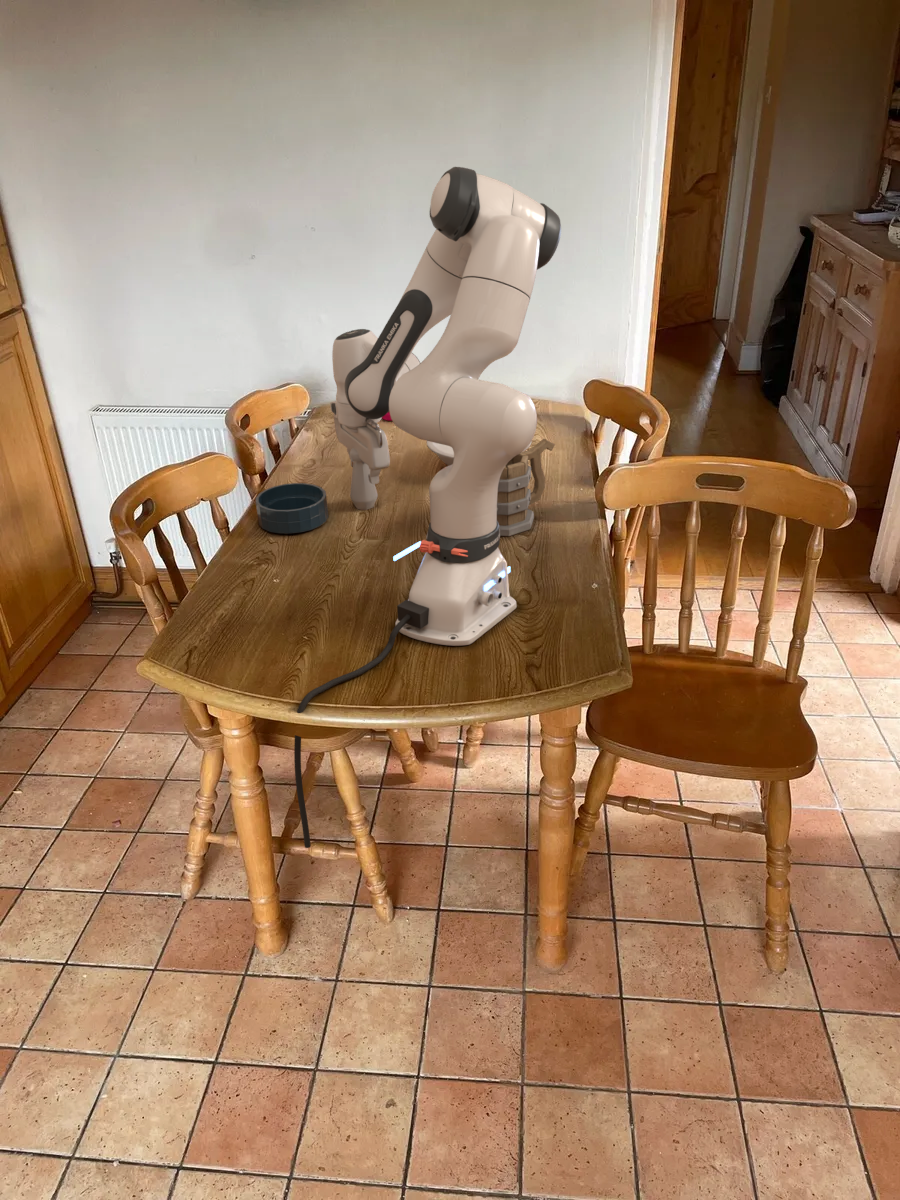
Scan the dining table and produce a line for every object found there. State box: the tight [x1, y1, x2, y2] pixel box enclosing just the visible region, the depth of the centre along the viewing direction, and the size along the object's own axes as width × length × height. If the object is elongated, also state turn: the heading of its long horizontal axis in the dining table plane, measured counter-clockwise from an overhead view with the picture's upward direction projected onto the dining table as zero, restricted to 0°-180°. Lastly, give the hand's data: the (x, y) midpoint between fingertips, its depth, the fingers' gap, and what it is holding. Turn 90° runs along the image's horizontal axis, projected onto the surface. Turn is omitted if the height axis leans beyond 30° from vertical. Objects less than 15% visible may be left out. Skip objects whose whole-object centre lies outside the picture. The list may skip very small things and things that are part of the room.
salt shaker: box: [349, 448, 379, 511], centre depth 193 cm, size 6×6×13 cm
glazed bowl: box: [255, 482, 330, 534], centre depth 190 cm, size 14×14×6 cm
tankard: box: [497, 438, 556, 537], centre depth 185 cm, size 20×13×15 cm, turn 123°
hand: (365, 475), depth 194 cm, fingers open, 8 cm apart
